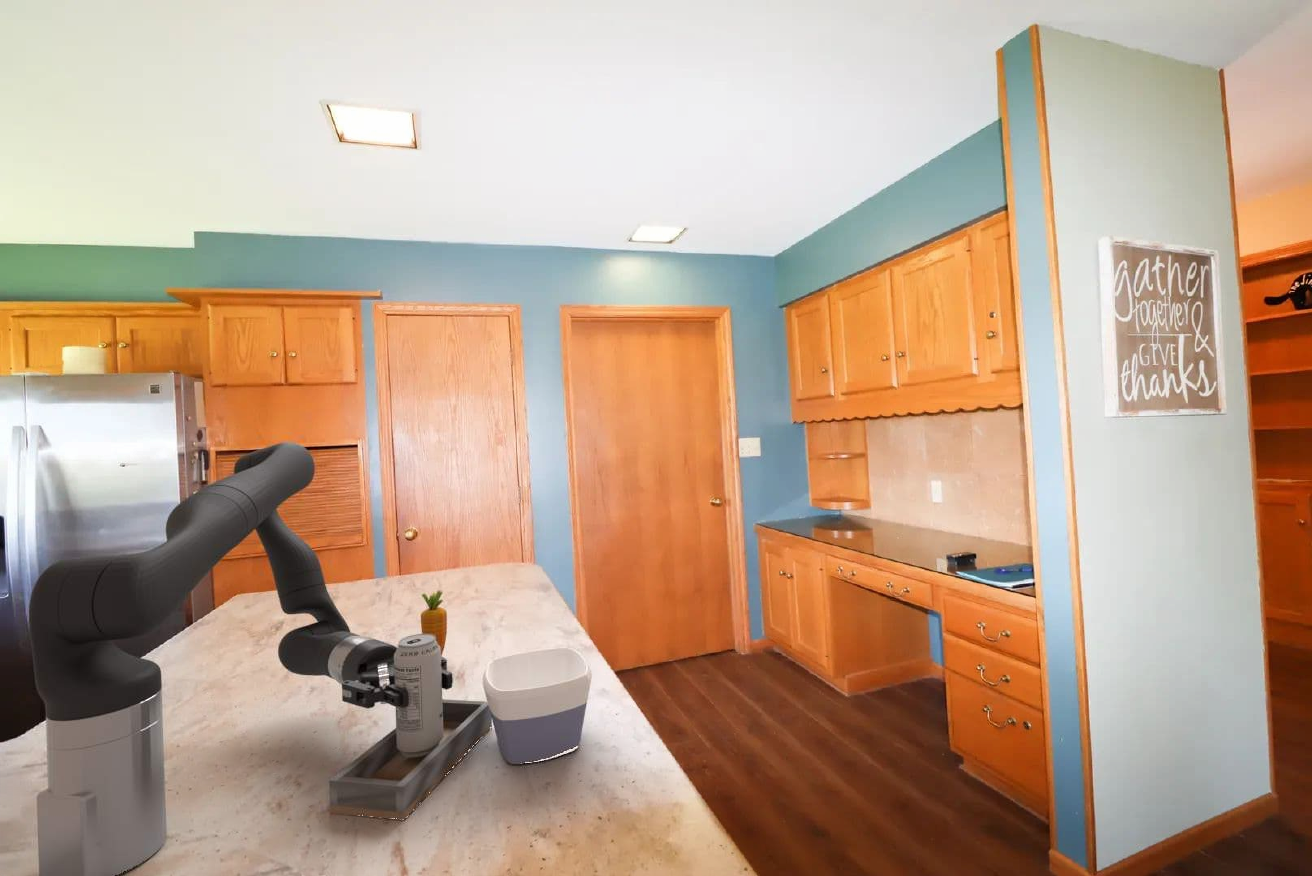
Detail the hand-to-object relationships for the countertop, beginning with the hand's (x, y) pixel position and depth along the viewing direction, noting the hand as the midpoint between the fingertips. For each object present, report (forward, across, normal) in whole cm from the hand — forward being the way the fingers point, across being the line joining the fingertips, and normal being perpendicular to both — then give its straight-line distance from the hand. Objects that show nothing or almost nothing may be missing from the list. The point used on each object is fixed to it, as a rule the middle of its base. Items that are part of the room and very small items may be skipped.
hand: (428, 690), depth 78 cm
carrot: (-34, +23, +12) cm, 42 cm away
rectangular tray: (-2, 0, +11) cm, 11 cm away
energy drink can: (-2, 0, +9) cm, 9 cm away
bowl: (+8, +13, +11) cm, 18 cm away
